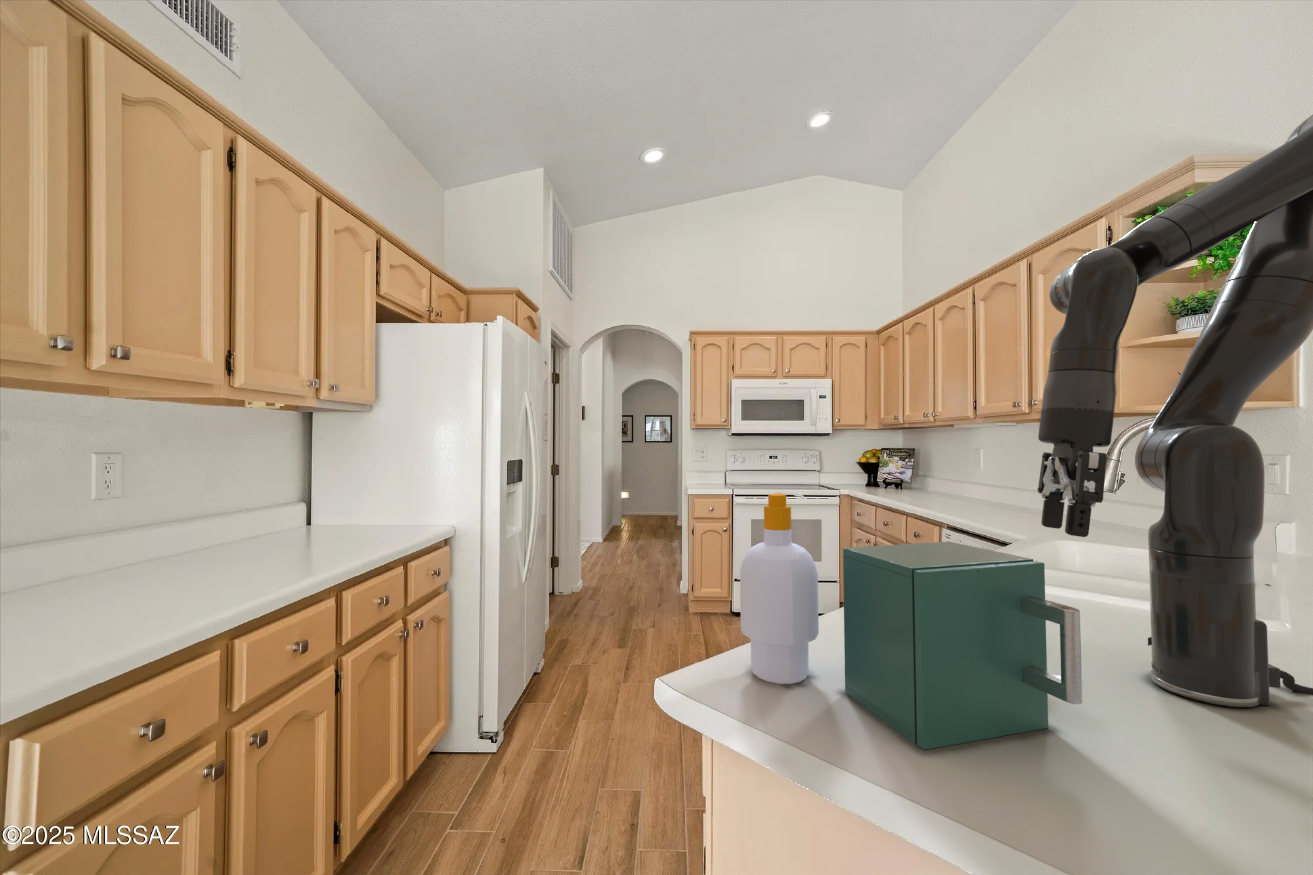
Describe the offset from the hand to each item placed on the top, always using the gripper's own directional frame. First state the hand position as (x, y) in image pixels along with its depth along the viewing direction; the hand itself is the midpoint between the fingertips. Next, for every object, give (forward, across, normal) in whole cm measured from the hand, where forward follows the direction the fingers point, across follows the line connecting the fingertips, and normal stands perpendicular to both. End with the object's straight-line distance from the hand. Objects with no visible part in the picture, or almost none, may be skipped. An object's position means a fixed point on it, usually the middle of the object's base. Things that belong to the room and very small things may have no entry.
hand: (1062, 531), depth 70 cm
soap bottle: (+24, -10, +33) cm, 42 cm away
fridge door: (+21, -21, +9) cm, 31 cm away
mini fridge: (+22, -13, +15) cm, 29 cm away
